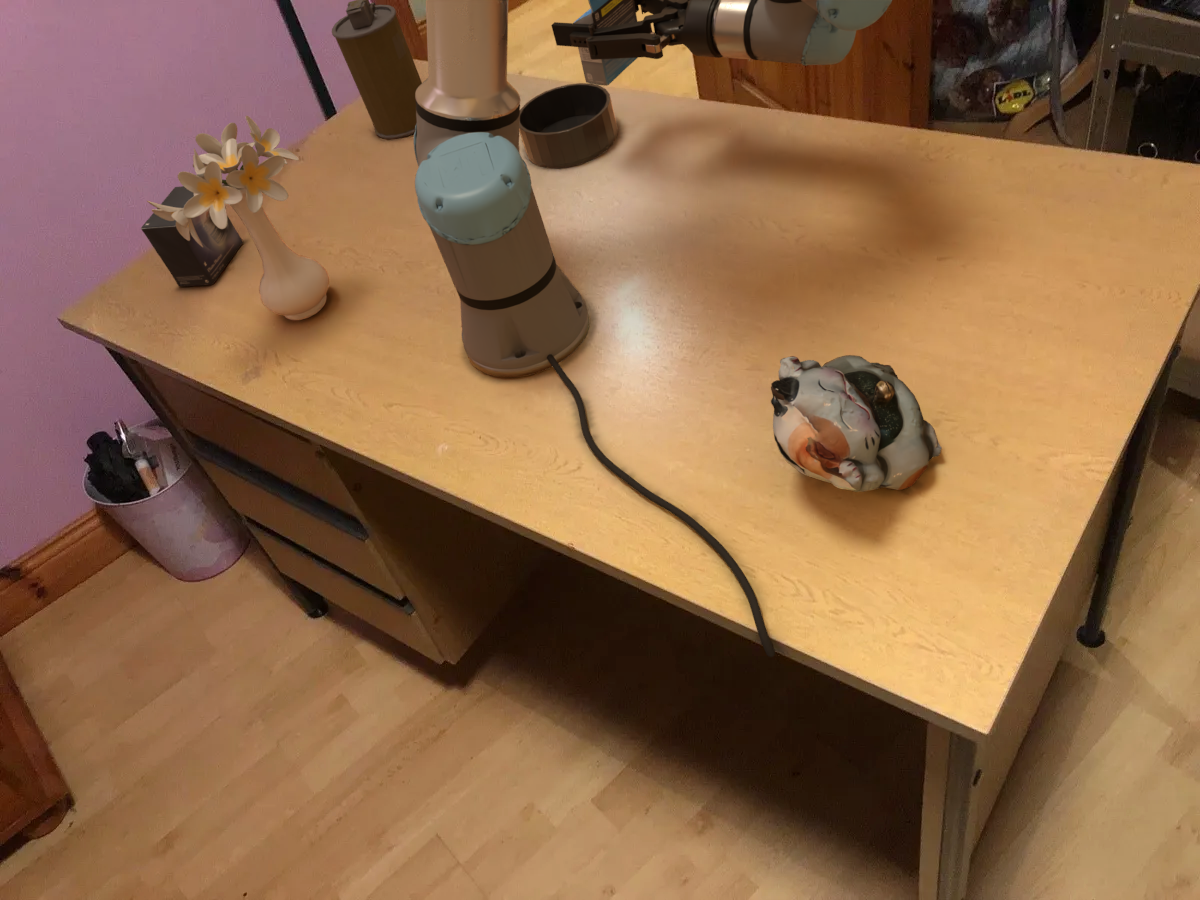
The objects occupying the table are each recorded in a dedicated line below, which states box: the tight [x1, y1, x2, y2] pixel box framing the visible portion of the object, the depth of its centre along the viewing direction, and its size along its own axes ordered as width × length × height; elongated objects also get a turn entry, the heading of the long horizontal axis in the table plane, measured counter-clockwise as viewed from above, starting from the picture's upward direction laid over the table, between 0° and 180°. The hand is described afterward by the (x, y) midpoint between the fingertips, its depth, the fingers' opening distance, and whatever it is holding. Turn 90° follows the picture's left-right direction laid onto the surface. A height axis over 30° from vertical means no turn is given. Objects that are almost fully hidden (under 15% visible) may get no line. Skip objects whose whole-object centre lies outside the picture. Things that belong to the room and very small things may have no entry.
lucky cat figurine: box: [770, 354, 943, 493], centre depth 84 cm, size 15×12×14 cm
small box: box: [140, 185, 244, 288], centre depth 137 cm, size 11×6×10 cm, turn 168°
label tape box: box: [573, 0, 638, 87], centre depth 123 cm, size 9×4×12 cm, turn 144°
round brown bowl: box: [519, 82, 619, 169], centre depth 139 cm, size 14×14×6 cm
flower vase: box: [146, 115, 330, 321], centre depth 118 cm, size 13×18×25 cm
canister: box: [331, 0, 423, 140], centre depth 151 cm, size 11×10×20 cm
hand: (575, 16), depth 125 cm, fingers closed on label tape box, 9 cm apart
